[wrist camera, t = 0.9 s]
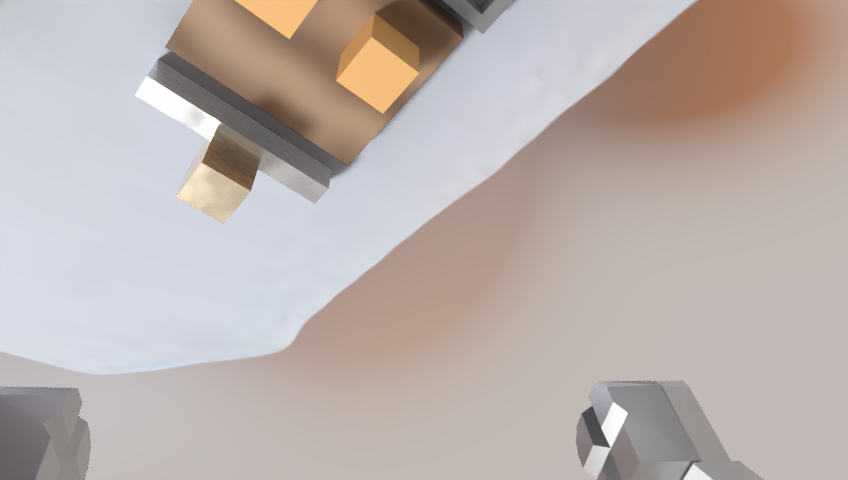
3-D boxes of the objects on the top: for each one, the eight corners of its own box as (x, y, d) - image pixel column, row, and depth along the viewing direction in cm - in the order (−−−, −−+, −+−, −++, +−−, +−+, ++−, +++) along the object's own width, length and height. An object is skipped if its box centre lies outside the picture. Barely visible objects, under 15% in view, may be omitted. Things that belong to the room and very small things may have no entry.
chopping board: (274, -130, 43) (268, -121, 41) (461, 24, 50) (463, 38, 48) (174, 32, 50) (165, 46, 48) (350, 149, 57) (348, 165, 55)
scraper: (158, 57, 52) (124, 110, 46) (331, 168, 58) (322, 226, 52) (133, 98, 54) (97, 154, 48) (303, 200, 61) (290, 260, 55)
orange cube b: (374, 12, 47) (371, 36, 44) (419, 47, 48) (419, 73, 45) (340, 54, 49) (336, 80, 46) (385, 86, 50) (382, 113, 47)
